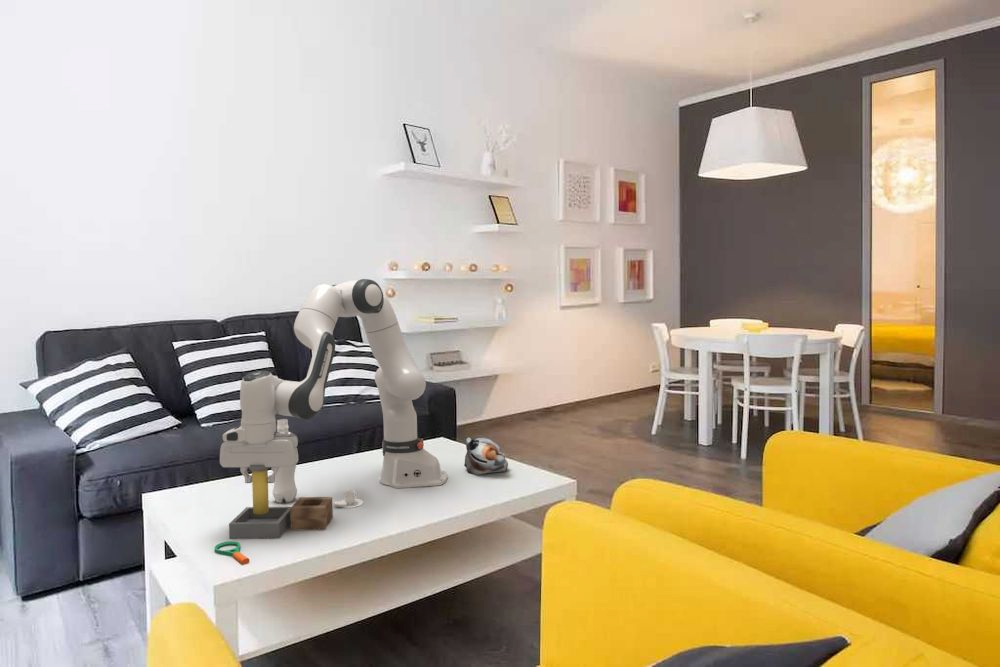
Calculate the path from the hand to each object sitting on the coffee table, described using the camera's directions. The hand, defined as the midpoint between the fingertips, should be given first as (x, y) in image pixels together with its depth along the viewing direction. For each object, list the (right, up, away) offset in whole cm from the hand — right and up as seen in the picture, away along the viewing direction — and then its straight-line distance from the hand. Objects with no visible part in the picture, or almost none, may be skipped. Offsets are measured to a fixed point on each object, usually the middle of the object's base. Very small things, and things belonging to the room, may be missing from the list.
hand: (260, 482), depth 186 cm
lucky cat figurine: (+60, -8, +54) cm, 82 cm away
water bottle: (-1, -11, +25) cm, 27 cm away
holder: (+13, -13, +5) cm, 19 cm away
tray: (0, -13, +1) cm, 13 cm away
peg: (0, -8, +1) cm, 8 cm away
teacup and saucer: (+16, -12, +22) cm, 30 cm away
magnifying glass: (-1, -15, -15) cm, 22 cm away
